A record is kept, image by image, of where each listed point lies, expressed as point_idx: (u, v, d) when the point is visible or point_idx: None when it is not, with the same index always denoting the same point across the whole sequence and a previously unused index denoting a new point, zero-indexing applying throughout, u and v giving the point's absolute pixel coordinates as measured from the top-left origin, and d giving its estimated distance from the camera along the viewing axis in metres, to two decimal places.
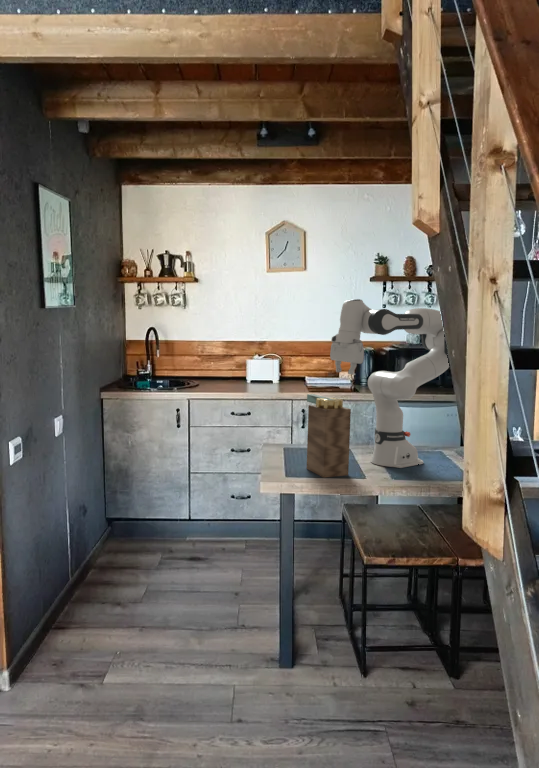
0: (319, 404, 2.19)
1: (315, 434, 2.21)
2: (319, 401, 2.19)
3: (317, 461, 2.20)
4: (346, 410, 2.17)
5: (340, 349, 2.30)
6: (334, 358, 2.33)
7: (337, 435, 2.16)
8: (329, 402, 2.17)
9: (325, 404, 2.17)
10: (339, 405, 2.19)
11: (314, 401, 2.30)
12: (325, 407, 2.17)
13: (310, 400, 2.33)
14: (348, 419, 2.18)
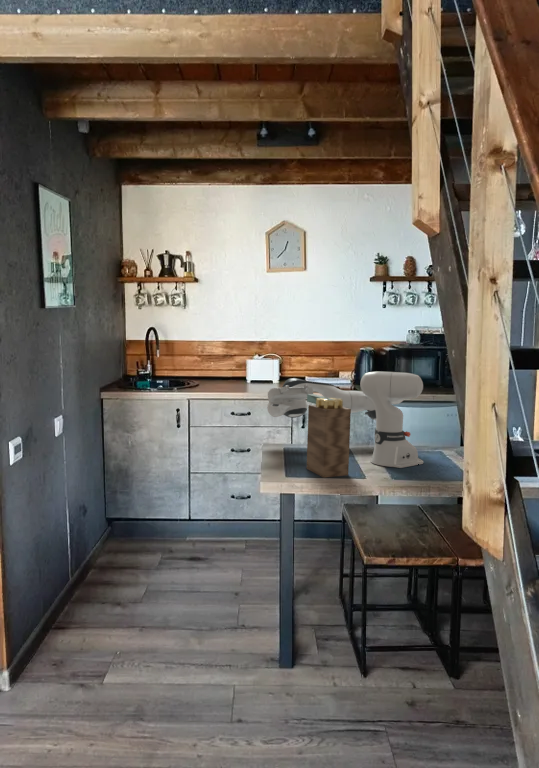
0: (319, 404, 2.19)
1: (315, 434, 2.21)
2: (319, 401, 2.19)
3: (317, 461, 2.20)
4: (346, 410, 2.17)
5: None
6: None
7: (337, 435, 2.16)
8: (329, 402, 2.17)
9: (325, 404, 2.17)
10: (339, 405, 2.19)
11: (314, 401, 2.30)
12: (325, 407, 2.17)
13: (310, 400, 2.33)
14: (348, 419, 2.18)
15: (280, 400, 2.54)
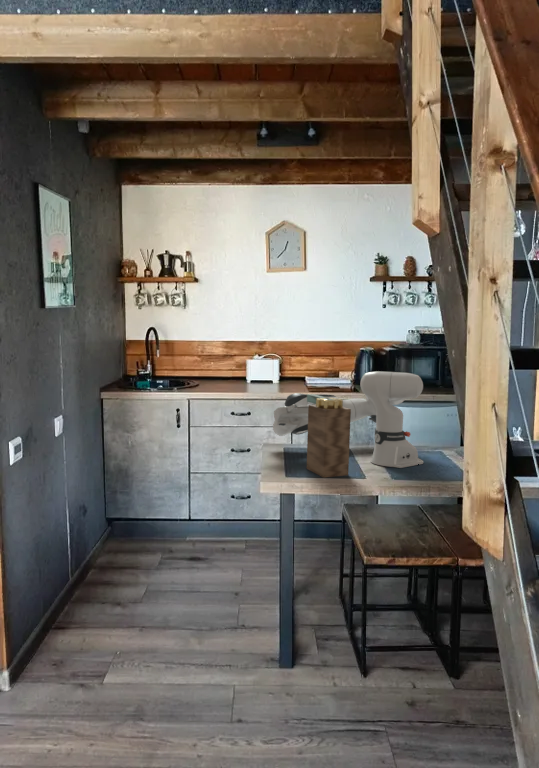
0: (319, 404, 2.19)
1: (315, 434, 2.21)
2: (319, 401, 2.19)
3: (317, 461, 2.20)
4: (346, 410, 2.17)
5: None
6: None
7: (337, 435, 2.16)
8: (329, 402, 2.17)
9: (325, 404, 2.17)
10: (339, 405, 2.19)
11: (314, 401, 2.30)
12: (325, 407, 2.17)
13: (310, 400, 2.33)
14: (348, 419, 2.18)
15: (287, 419, 2.46)
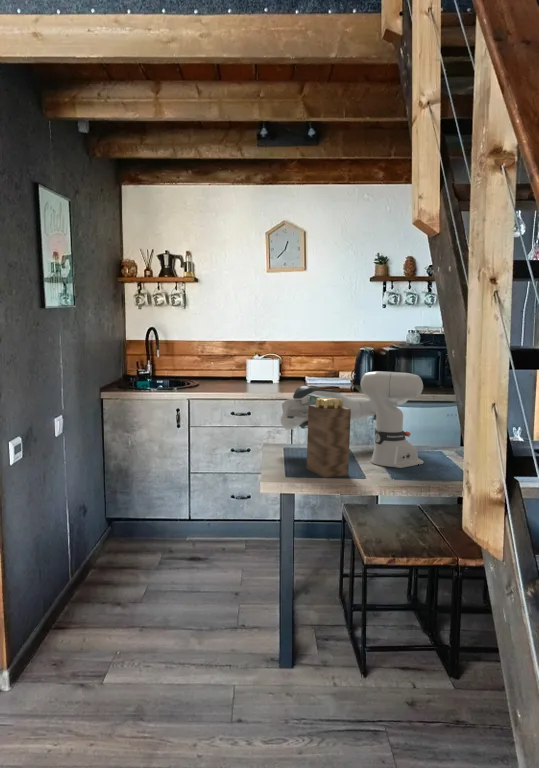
0: (319, 404, 2.19)
1: (315, 434, 2.21)
2: (319, 401, 2.19)
3: (317, 461, 2.20)
4: (346, 410, 2.17)
5: None
6: None
7: (337, 435, 2.16)
8: (329, 402, 2.17)
9: (325, 404, 2.17)
10: (339, 405, 2.19)
11: (314, 401, 2.30)
12: (325, 407, 2.17)
13: None
14: (348, 419, 2.18)
15: (295, 412, 2.39)
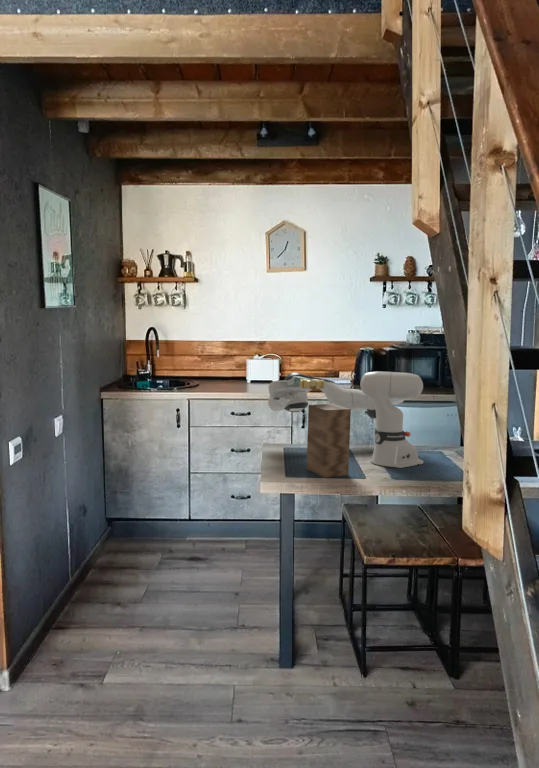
0: (303, 384, 2.31)
1: (315, 434, 2.21)
2: (302, 382, 2.31)
3: (317, 461, 2.20)
4: (346, 410, 2.17)
5: None
6: None
7: (337, 435, 2.16)
8: (311, 383, 2.29)
9: (308, 384, 2.29)
10: (321, 385, 2.31)
11: (298, 382, 2.42)
12: (308, 387, 2.29)
13: (295, 382, 2.45)
14: (348, 419, 2.18)
15: (281, 393, 2.51)
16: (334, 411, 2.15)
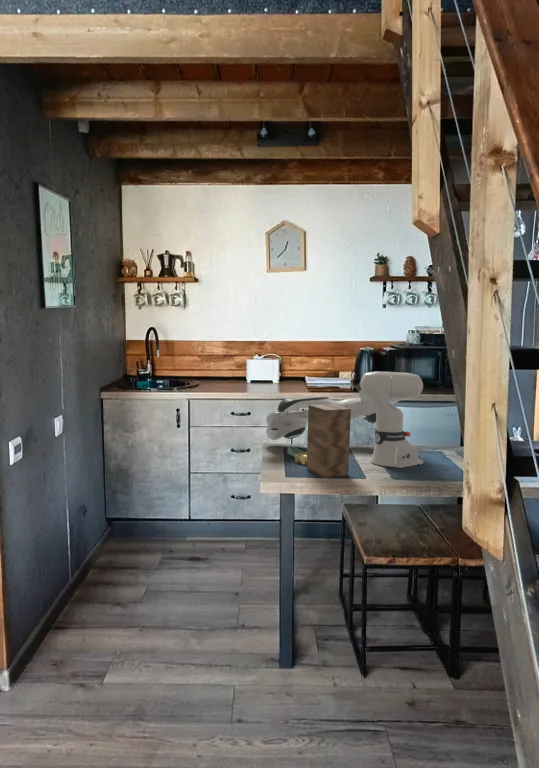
0: (298, 459, 2.37)
1: (315, 434, 2.21)
2: (297, 457, 2.37)
3: (317, 461, 2.20)
4: (346, 410, 2.17)
5: None
6: None
7: (337, 435, 2.16)
8: (306, 458, 2.35)
9: (303, 460, 2.35)
10: None
11: (293, 454, 2.48)
12: (303, 463, 2.35)
13: (290, 453, 2.51)
14: (348, 419, 2.18)
15: (279, 424, 2.54)
16: (334, 411, 2.15)
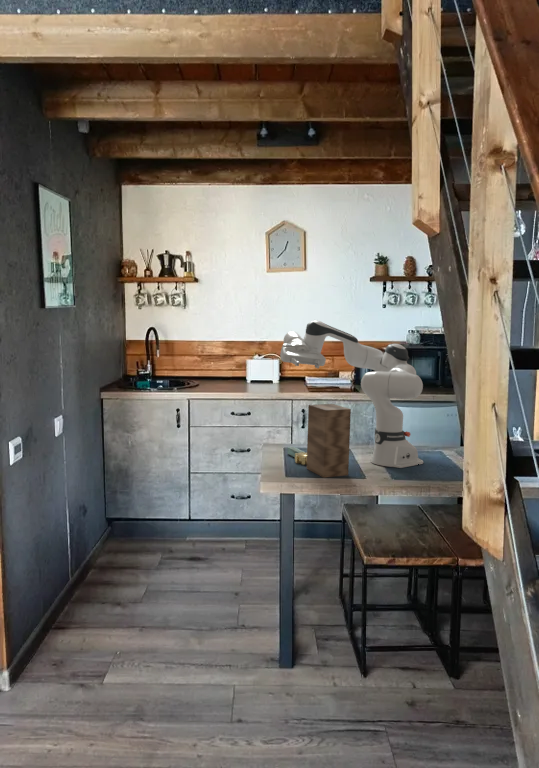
0: (298, 459, 2.37)
1: (315, 434, 2.21)
2: (297, 457, 2.37)
3: (317, 461, 2.20)
4: (346, 410, 2.17)
5: (296, 352, 2.52)
6: (292, 354, 2.48)
7: (337, 435, 2.16)
8: (306, 458, 2.35)
9: (303, 460, 2.35)
10: None
11: (293, 454, 2.48)
12: (303, 463, 2.35)
13: (290, 453, 2.51)
14: (348, 419, 2.18)
15: None
16: (334, 411, 2.15)
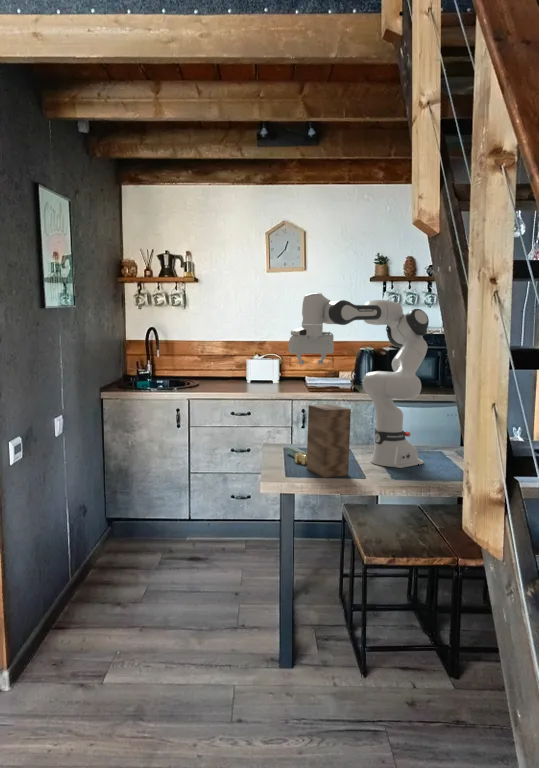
0: (298, 459, 2.37)
1: (315, 434, 2.21)
2: (297, 457, 2.37)
3: (317, 461, 2.20)
4: (346, 410, 2.17)
5: (307, 342, 2.37)
6: (300, 351, 2.35)
7: (337, 435, 2.16)
8: (306, 458, 2.35)
9: (303, 460, 2.35)
10: None
11: (293, 454, 2.48)
12: (303, 463, 2.35)
13: (290, 453, 2.51)
14: (348, 419, 2.18)
15: None
16: (334, 411, 2.15)
